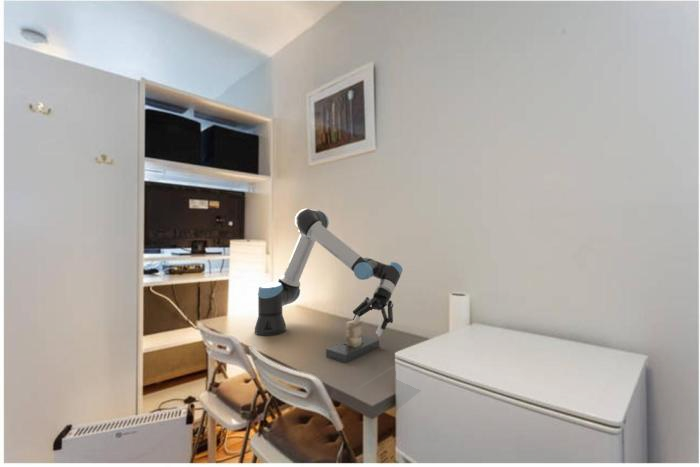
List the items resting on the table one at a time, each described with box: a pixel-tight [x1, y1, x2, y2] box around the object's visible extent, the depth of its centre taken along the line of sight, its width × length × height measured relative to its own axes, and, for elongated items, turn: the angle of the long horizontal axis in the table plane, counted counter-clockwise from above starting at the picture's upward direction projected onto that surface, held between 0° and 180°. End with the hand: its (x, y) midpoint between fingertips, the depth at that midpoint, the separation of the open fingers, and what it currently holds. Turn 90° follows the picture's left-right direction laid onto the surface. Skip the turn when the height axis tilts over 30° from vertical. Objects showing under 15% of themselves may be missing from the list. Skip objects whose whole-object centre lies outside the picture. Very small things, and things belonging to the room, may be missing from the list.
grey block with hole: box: [325, 334, 380, 364], centre depth 128 cm, size 10×22×3 cm, turn 141°
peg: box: [345, 319, 362, 348], centre depth 129 cm, size 4×4×12 cm
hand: (364, 332), depth 133 cm, fingers open, 13 cm apart
